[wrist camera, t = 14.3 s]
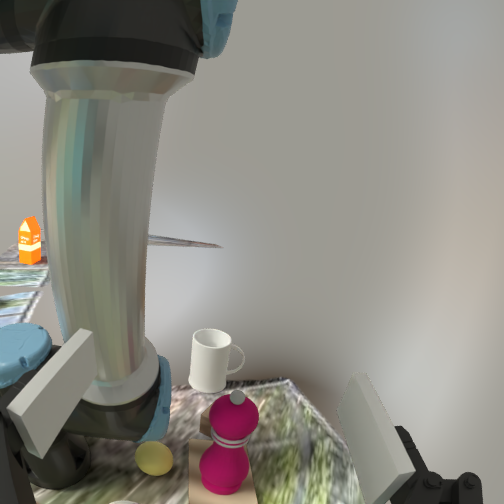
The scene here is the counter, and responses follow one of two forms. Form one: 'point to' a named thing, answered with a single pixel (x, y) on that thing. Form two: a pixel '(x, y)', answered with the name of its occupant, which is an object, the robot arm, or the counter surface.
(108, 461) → the counter surface
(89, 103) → the robot arm
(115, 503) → the white rounded piece
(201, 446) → the serving board
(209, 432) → the walnut block
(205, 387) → the mug
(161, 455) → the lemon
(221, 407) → the pepper mill
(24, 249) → the orange juice
